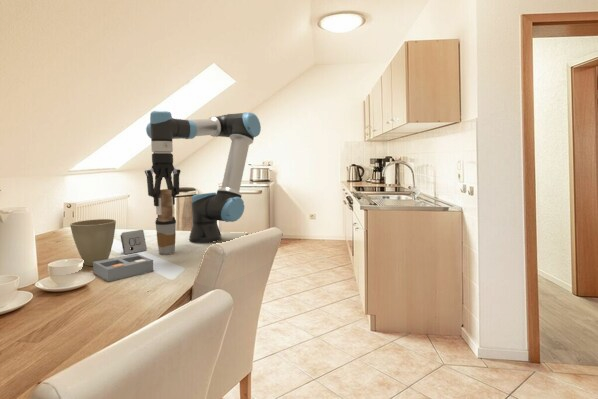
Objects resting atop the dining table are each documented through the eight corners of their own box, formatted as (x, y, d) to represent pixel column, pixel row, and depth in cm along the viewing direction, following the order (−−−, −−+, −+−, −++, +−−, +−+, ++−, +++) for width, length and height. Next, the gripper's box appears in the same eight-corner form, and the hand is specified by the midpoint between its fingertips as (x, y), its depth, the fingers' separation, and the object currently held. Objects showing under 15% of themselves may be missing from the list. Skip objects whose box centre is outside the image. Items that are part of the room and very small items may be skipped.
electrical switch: (125, 255, 147) (123, 232, 147) (120, 254, 151) (117, 232, 150) (147, 250, 155) (145, 229, 154) (141, 250, 158) (139, 229, 158)
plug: (167, 219, 141) (166, 189, 140) (172, 220, 138) (171, 189, 137) (157, 220, 138) (156, 189, 137) (162, 221, 135) (161, 190, 134)
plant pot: (124, 257, 143) (122, 218, 141) (106, 269, 128) (103, 225, 127) (86, 258, 143) (84, 218, 141) (63, 269, 128) (60, 225, 126)
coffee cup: (181, 251, 154) (180, 216, 152) (168, 255, 146) (167, 219, 144) (165, 249, 157) (164, 215, 155) (151, 254, 149) (150, 218, 147)
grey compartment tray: (137, 264, 135) (136, 252, 134) (153, 271, 126) (152, 259, 125) (93, 273, 123) (92, 261, 123) (108, 281, 115) (107, 268, 114)
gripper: (144, 152, 126) (147, 217, 129) (187, 153, 139) (189, 212, 142) (135, 152, 131) (138, 215, 134) (177, 153, 144) (180, 210, 147)
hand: (164, 213), depth 138 cm, fingers closed on plug, 4 cm apart
